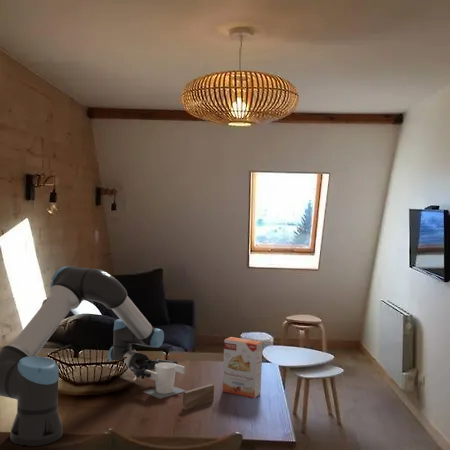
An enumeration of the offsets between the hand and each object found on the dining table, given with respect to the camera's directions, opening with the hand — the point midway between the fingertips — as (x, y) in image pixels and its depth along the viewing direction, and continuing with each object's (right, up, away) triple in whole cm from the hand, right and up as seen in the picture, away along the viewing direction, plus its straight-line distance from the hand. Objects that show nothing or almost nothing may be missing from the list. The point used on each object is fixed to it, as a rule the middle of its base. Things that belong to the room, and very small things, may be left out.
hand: (171, 373), depth 217 cm
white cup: (-3, -8, +2) cm, 8 cm away
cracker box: (+27, -9, +4) cm, 28 cm away
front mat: (-3, -8, +3) cm, 8 cm away
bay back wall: (+11, -9, -10) cm, 17 cm away
